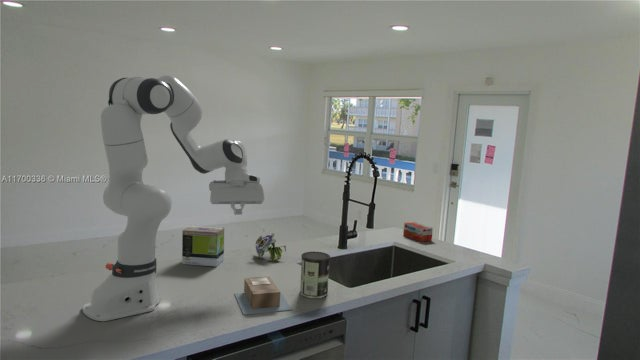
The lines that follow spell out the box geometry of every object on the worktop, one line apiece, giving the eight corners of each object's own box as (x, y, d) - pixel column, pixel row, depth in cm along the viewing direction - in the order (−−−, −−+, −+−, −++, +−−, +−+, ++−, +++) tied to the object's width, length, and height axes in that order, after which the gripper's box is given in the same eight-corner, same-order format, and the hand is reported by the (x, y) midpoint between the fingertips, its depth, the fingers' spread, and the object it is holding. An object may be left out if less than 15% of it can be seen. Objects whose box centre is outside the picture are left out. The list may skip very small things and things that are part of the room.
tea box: (224, 260, 189) (225, 227, 187) (216, 267, 179) (217, 232, 177) (190, 257, 190) (191, 224, 188) (181, 264, 180) (181, 229, 179)
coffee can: (325, 287, 164) (327, 251, 162) (330, 298, 154) (332, 259, 152) (297, 287, 162) (299, 251, 160) (301, 298, 152) (303, 259, 150)
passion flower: (258, 270, 196) (248, 243, 200) (282, 262, 202) (272, 236, 206) (266, 262, 186) (255, 234, 190) (291, 254, 192) (280, 226, 196)
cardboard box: (244, 291, 154) (252, 309, 141) (244, 277, 154) (253, 293, 140) (268, 289, 158) (279, 306, 144) (269, 275, 157) (280, 291, 143)
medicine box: (431, 241, 243) (433, 227, 242) (421, 242, 238) (422, 228, 237) (412, 234, 255) (413, 221, 254) (402, 236, 251) (403, 222, 250)
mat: (234, 294, 152) (234, 293, 152) (278, 290, 158) (278, 289, 158) (243, 315, 137) (243, 314, 137) (292, 310, 142) (292, 309, 142)
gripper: (209, 176, 163) (210, 211, 157) (263, 177, 169) (266, 210, 163) (208, 183, 168) (209, 217, 163) (261, 184, 174) (263, 216, 169)
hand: (238, 214), depth 163 cm, fingers closed
